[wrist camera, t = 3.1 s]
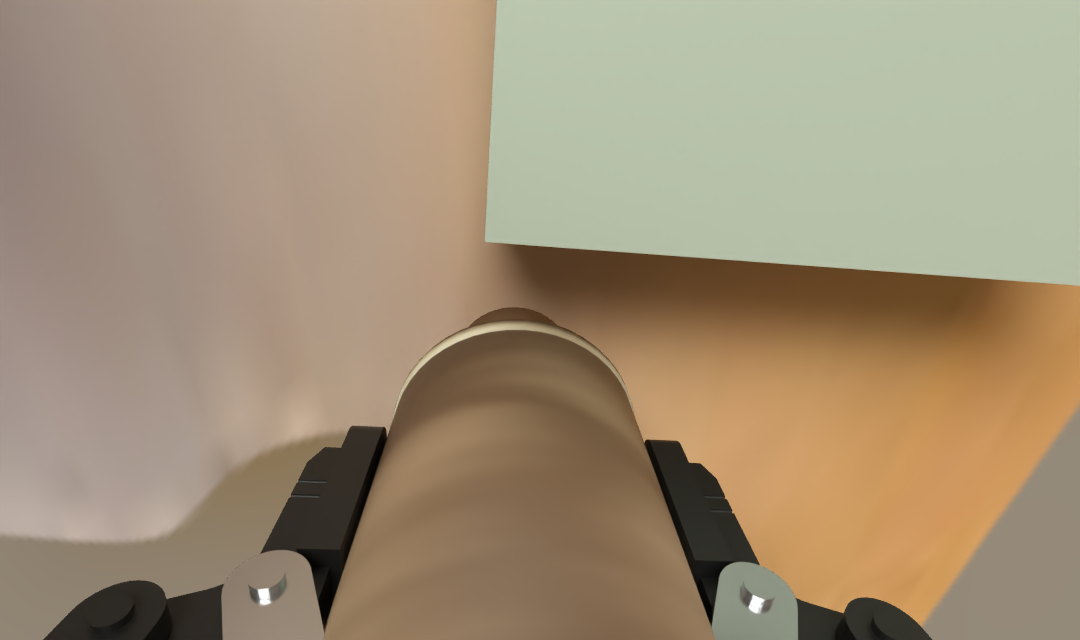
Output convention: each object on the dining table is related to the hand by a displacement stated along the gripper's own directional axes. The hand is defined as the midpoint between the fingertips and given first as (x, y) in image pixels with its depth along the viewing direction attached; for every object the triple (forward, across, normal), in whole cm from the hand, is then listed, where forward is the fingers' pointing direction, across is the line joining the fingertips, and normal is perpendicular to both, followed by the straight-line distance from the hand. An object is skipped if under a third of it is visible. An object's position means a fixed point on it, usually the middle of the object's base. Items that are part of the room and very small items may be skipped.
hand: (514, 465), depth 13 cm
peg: (+5, 0, 0) cm, 5 cm away
